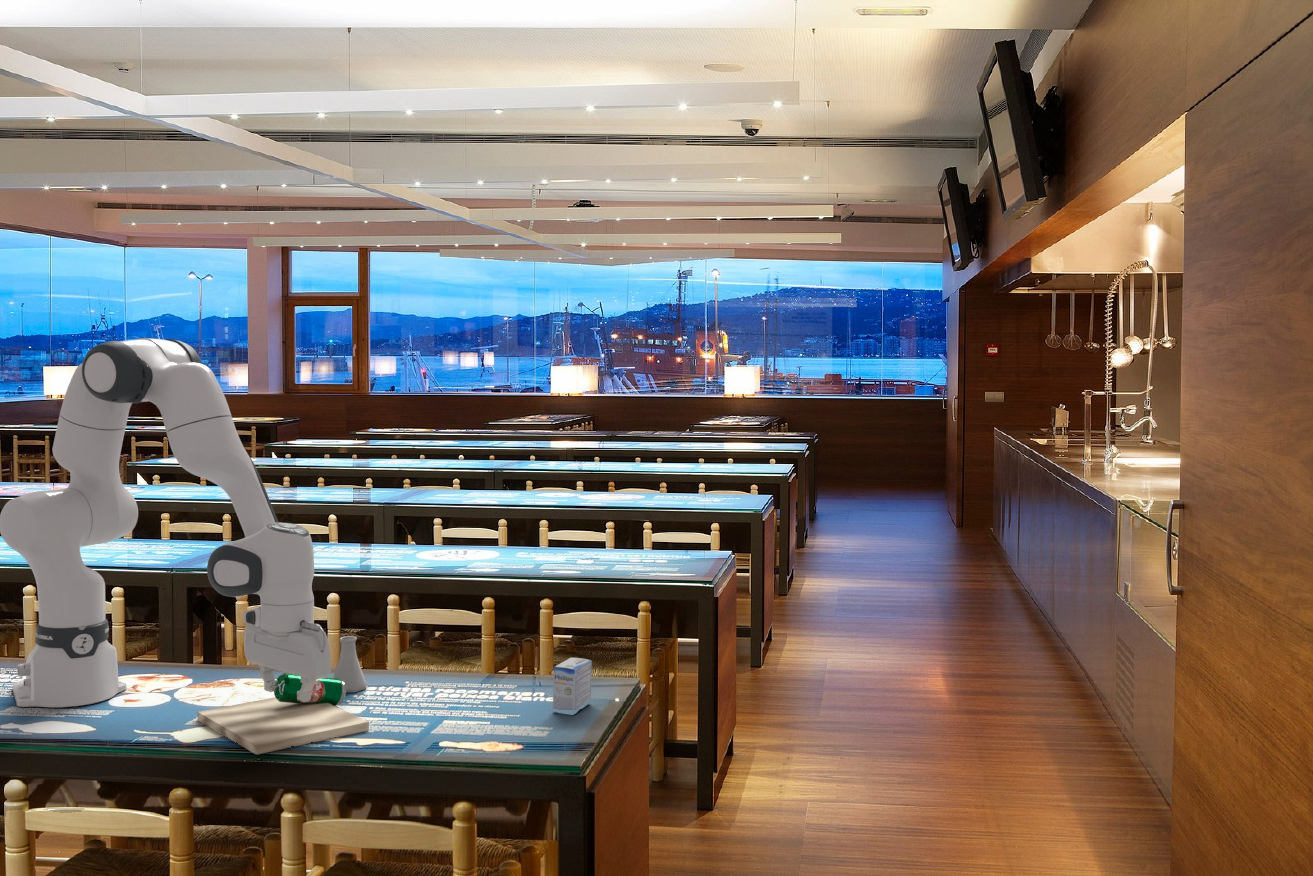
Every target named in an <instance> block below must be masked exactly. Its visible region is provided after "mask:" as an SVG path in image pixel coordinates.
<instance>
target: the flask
mask: <svg viewBox="0 0 1313 876" xmlns="http://www.w3.org/2000/svg"><path fill="white" fill-rule="evenodd" d="M357 639H358V638H357V636H352V635H349V636H347V635H346V636H341V637H340V638H339V642H340V652H339V658H338V661H337V665H336V668H335V671H334V674H333V675H332V676H333V677H332V678H338V679H339V680H340V681H343V682H344V683H345V685H346V693H357V692H360V691H364V690H366V688H367V686H368V683H367V680H366V678H365V674H364V671H363V670H362V667H361V664H360V661H359V658H358V654H357V650H356V649H357V648H356V641H357Z"/></svg>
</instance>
